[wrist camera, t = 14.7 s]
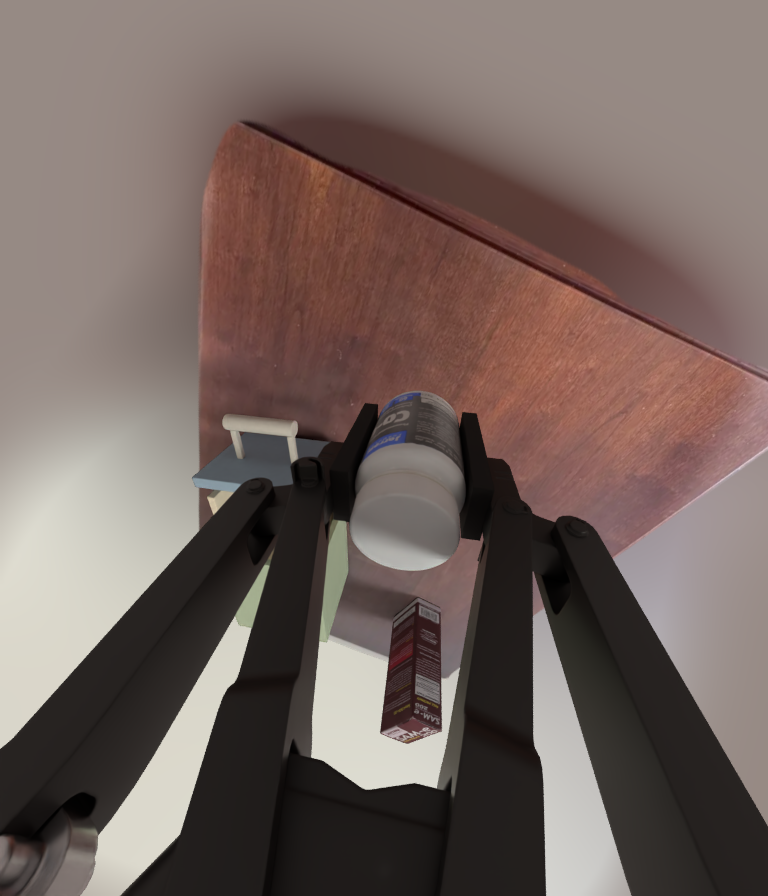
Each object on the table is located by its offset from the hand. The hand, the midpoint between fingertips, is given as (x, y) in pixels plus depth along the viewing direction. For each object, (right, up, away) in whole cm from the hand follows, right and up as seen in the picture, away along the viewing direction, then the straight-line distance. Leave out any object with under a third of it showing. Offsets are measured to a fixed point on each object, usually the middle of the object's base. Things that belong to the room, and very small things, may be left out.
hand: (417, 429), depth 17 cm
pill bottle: (0, 0, 0) cm, 1 cm away
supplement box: (+4, -30, +35) cm, 46 cm away
